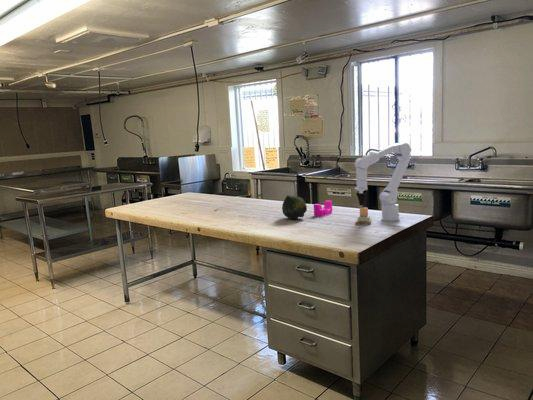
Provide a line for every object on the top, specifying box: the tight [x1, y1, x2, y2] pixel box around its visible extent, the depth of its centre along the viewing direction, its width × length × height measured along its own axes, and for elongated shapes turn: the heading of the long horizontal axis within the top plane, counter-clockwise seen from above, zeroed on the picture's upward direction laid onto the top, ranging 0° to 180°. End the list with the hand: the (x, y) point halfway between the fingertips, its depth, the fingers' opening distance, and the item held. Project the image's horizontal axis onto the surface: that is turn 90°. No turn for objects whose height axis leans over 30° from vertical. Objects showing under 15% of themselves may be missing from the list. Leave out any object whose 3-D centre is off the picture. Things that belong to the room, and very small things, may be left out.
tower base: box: [355, 218, 372, 226], centre depth 234 cm, size 8×8×2 cm
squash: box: [281, 195, 308, 221], centre depth 255 cm, size 14×15×15 cm
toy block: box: [313, 200, 333, 218], centre depth 263 cm, size 15×6×8 cm, turn 139°
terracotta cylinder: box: [359, 206, 369, 217], centre depth 233 cm, size 4×4×4 cm
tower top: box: [357, 214, 371, 221], centre depth 234 cm, size 6×6×2 cm
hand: (362, 204), depth 234 cm, fingers open, 7 cm apart
